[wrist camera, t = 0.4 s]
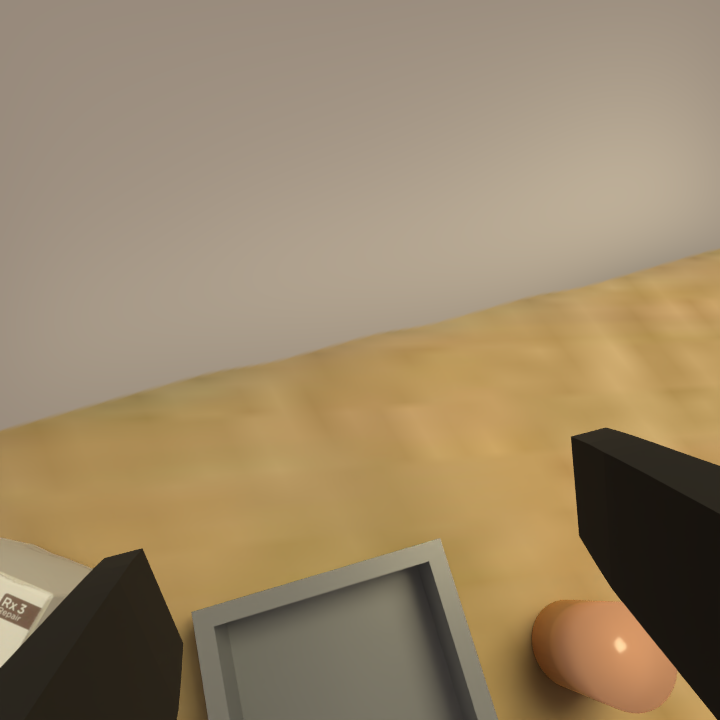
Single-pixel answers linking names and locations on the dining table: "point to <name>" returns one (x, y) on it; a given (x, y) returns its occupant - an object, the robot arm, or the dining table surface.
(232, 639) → the tote
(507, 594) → the dining table surface
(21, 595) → the skincare box
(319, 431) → the dining table surface
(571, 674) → the terracotta capsule
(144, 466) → the dining table surface
